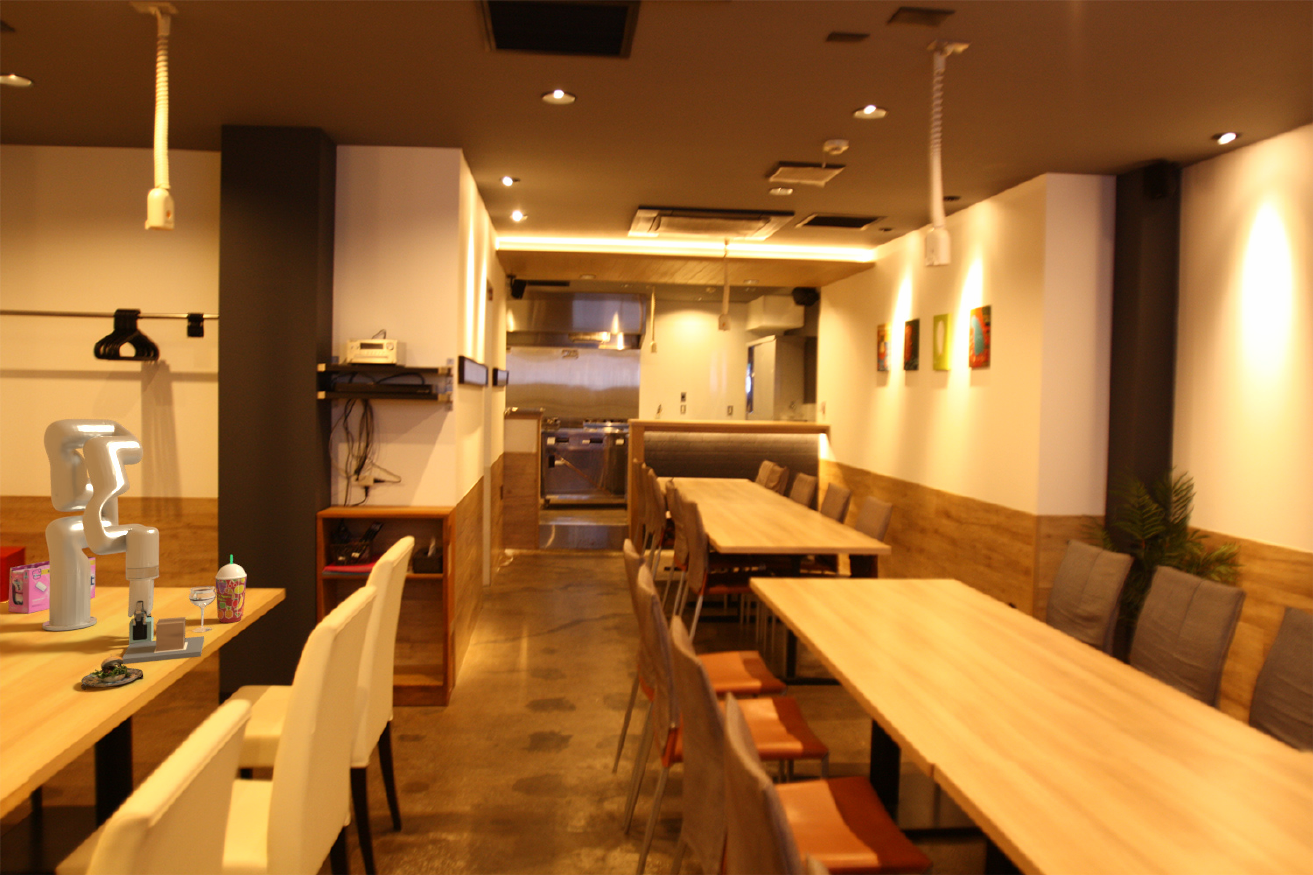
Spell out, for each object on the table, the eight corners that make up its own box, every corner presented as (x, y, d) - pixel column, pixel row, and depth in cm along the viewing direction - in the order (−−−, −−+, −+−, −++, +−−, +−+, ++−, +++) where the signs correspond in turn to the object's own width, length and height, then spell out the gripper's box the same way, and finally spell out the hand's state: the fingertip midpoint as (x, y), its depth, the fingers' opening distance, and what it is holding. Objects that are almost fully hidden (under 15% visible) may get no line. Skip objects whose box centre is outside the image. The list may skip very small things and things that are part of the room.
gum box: (24, 615, 234) (24, 570, 234) (3, 613, 236) (3, 568, 235) (96, 597, 258) (96, 556, 257) (76, 595, 259) (76, 555, 259)
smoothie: (208, 622, 232) (209, 555, 232) (232, 615, 240) (233, 551, 240) (228, 625, 229) (229, 558, 229) (252, 619, 237) (253, 554, 237)
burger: (74, 694, 173) (74, 661, 173) (88, 677, 184) (88, 646, 183) (137, 688, 178) (138, 656, 178) (148, 672, 189) (148, 642, 188)
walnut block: (158, 645, 205) (158, 618, 205) (185, 642, 208) (185, 616, 207) (156, 651, 199) (156, 624, 199) (183, 649, 202) (183, 622, 202)
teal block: (131, 640, 213) (132, 618, 213) (153, 638, 215) (153, 616, 215) (129, 645, 208) (129, 623, 208) (151, 643, 211) (151, 621, 211)
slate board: (130, 647, 206) (130, 642, 206) (203, 640, 214) (203, 635, 214) (121, 664, 193) (121, 658, 193) (200, 656, 201) (200, 651, 201)
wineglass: (219, 630, 225) (219, 588, 224) (192, 634, 220) (193, 592, 219) (211, 625, 229) (211, 584, 229) (185, 629, 224) (185, 588, 224)
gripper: (130, 567, 217) (130, 628, 218) (121, 579, 202) (120, 645, 202) (162, 566, 221) (161, 625, 221) (155, 577, 205) (155, 641, 206)
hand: (142, 634), depth 212 cm, fingers open, 9 cm apart
